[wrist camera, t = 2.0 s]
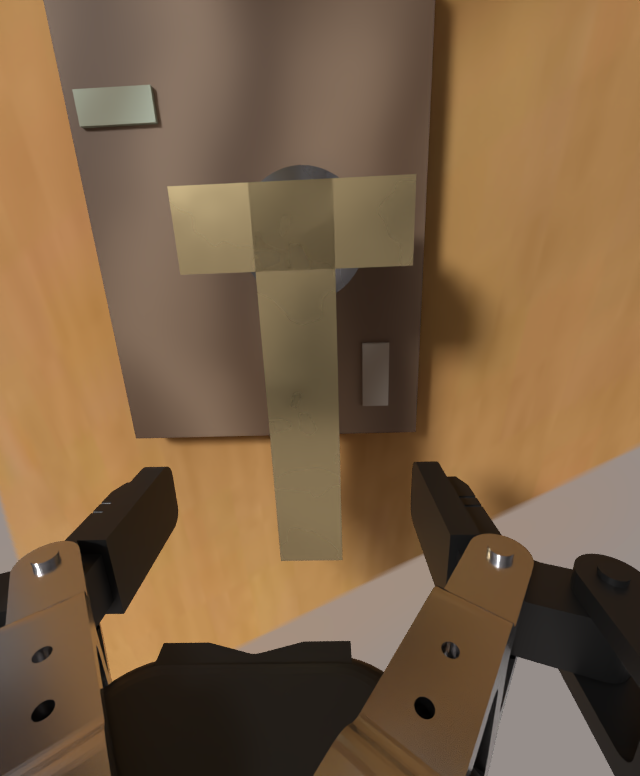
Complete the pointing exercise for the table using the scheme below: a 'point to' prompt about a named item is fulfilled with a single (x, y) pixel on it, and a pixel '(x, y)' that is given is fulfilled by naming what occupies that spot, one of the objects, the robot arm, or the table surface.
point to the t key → (299, 311)
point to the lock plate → (241, 165)
